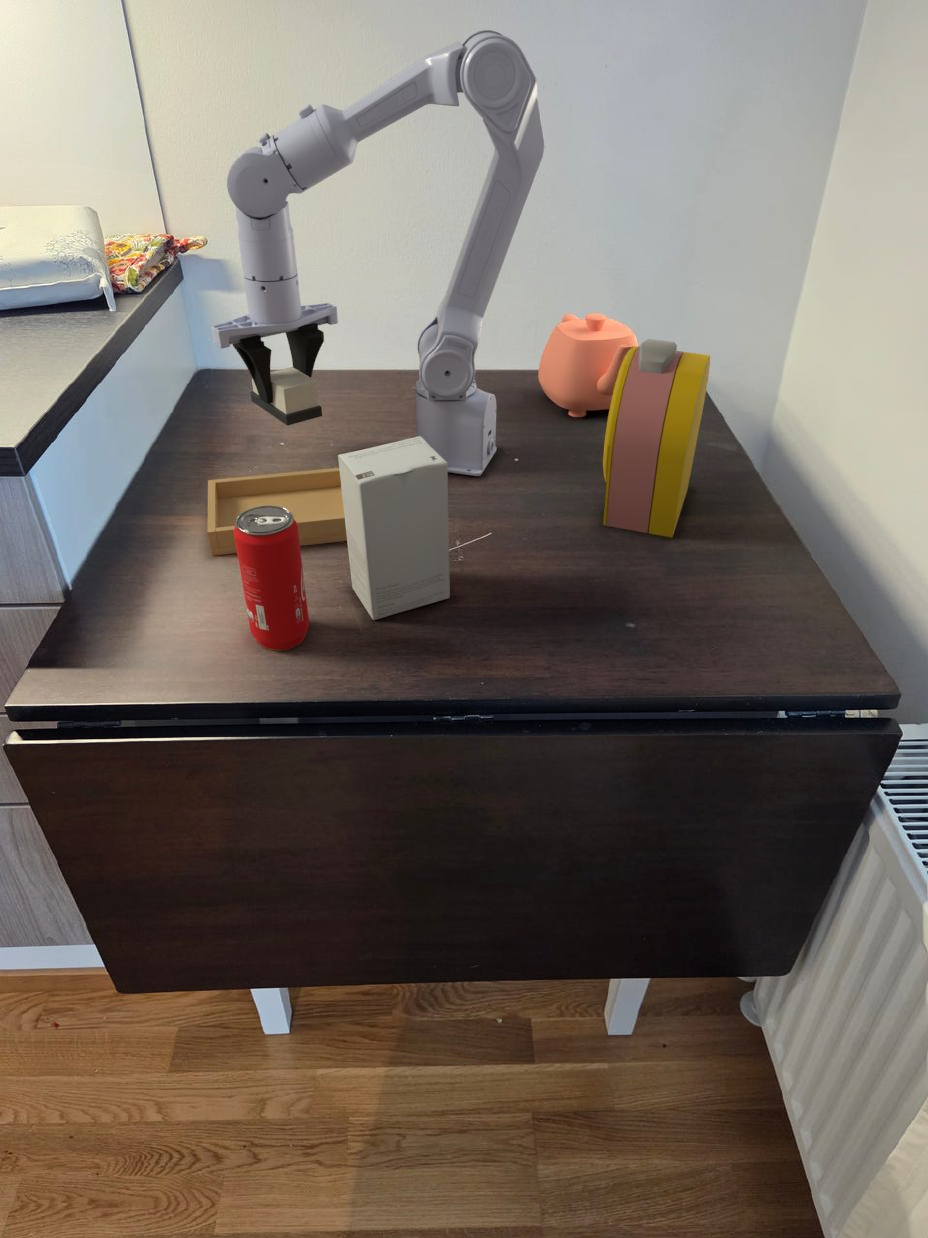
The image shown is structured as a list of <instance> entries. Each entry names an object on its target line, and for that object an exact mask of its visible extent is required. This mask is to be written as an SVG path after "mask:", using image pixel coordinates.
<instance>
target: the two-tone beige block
mask: <svg viewBox="0 0 928 1238" xmlns="http://www.w3.org/2000/svg"><path fill="white" fill-rule="evenodd" d="M270 376H271V383H272V390H273V403H269V404H267V403H266V402H264V401H263V400H261V399H260V397H259V394H258V391H257V388H256V385H255V383H254V380H253V378H251V383H252V384H251V385H252V391H250V392H249V393H250V399H251V402H252V403H254V404H255V405H257V406H258V407H259V408H261V409H262V410H263V411H265V412H267V413H269V415H271V416H273V417H274V418H275V419H277V420H278V421H279V422H281V423H282V424H284V425H285V426H292V425H295V424H299V423H302V422H306V421H309V420H313V419H316V418H320V417H323V408H322V406H321V405H319V404H320V403H319V395H318V384H317V380H316V379H314V378H313V377H311V378H310V377H309V376H307V375H305V374H304V373H302V372H300V371H299V370H297V369H295V368H294V367H293V366H291V367H287V368H286V367H285V368H282V369H277V370H273V371H270Z"/></svg>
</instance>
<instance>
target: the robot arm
mask: <svg viewBox="0 0 928 1238" xmlns="http://www.w3.org/2000/svg"><path fill="white" fill-rule="evenodd" d="M529 63H530V62H529V61H528V60H527V57H526V55H525V53H524V52H523V50H522V48H521V47H520V45H518V43H516V42H515V41H514V40H513V39H511V38H510V37H508V36H506V35H503V34H502V33H500V32H498V31H496V30H491V29H483V30H479V31H476V32H474V33H472V34H470V35H469V36H468V37H467V38H466V39H465V40H463V42H462V43H461V42H460V40H459V41H456V42H453V43H450V44H448V45H446V46H443V47H441V48H439V49H437V50H435V51H432V52H430V53H427V54H426V55H424V56H422V57H420V58H419V59H417V60H416V61H415V62H413V63H411V64H409V66H407V67H406V68H404V69H402V70H401V71H399V72H398V73H396V74H395V75H393V76H391V78H389V79H387V80H386V81H384V82H383V83H381V84H380V85H379V86H377V87H375V88H374V89H372V90H371V91H369V92H368V93H366V94H365V95H363V96H362V97H360V98H359V99H357V100H356V101H354V102H353V103H351V104H349V105H348V106H346V107H345V108H344V109H339V108H335V107H334V106H333V107H332V106H330V105H327V104H324V103H323V104H320V105H319V106H317V107H315V108H314V107H313V106H312V105H311V104H307V105H306V106H303V107H302V108H300V110H299V111H298V116H299V117H300V118H298V119H295V121H293V122H291V123H290V124H288V125H287V126H285V127H284V128H282V129H280V130H279V131H277V132H275V133H274V134H272V135H269V132H265V133H264V134H262V135H261V136H259V137H258V139H257V141H258V143H259V145H260V146H252V147H249V148H247V149H245V150H244V151H243V152H242V153H241V154H240V155H239V156H238V157H237V158H236V159H235V160H234V161H233V163H232V164H231V166H230V167H229V169H228V173H227V178H226V187H227V192H228V195H229V198H230V200H231V202H232V203H233V204H234V206H235V218H236V221H237V226H238V228H237V237H238V245H239V252H240V259H241V266H242V275H243V281H244V289H245V295H246V296H245V297H246V302H247V303H246V304H247V310H248V311H247V312H248V314H245V315H242V316H240V317H236V318H234V319H231V320H228V321H225V322H223V323H219V324H215V325H211V326H210V330H211V335H212V342H213V344H214V345H215V346H216V347H218V348H220V349H227V348H230V347H231V345H232V346H233V348H234V349H235V351H236V352H237V353H238V355H239V356H240V358H241V359H242V362H243V363H244V364H245V366H246V368H247V370H248V372H249V374H250V376H251V379H253V380H254V383H255V385H256V388H257V391H258V394H259V397H260V399H261V400H263V401H264V402H266V403H267V404H269V403H273V390H272V383H271V376H270V372H271V359H272V358H271V357H272V349H271V348H269V347H267V346H266V345H265V341H264V340H262V338H266V337H271V336H276V335H281V334H285V336H286V339H287V343H288V346H289V347H288V348H289V352H290V356H291V361H292V367H294V368H295V369H297V370H299V371H300V372H302V373H304V374H305V375H307V376H309V377H310V378H313V372H314V367H315V363H316V360H317V357H318V355H319V352H320V350H321V347H322V346H323V344H324V343H325V333H324V331H323V330H321V329H319V326H323V325H330V326H332V325H335V324H336V325H337V324H338V323H339V319H338V306H336V305H334V304H332V303H331V302H330V303H329V302H324V303H318V304H307V305H301V295H300V284H299V275H298V274H299V273H298V267H297V257H296V256H297V255H296V247H295V246H296V245H295V237H294V229H293V226H292V224H291V214H290V206H289V201H287V199H288V196H289V195H291V194H297V195H299V194H303V193H305V192H306V191H307V190H310V189H311V188H313V187H314V186H316V185H318V184H319V183H321V182H323V181H325V180H326V179H328V178H330V177H331V176H333V175H334V174H336V173H338V172H340V171H341V170H343V169H345V168H347V167H348V166H350V165H351V164H353V163H354V160H355V157H356V151H357V148H358V144H359V142H361V141H364V140H365V139H367V138H369V137H370V136H373V135H374V134H376V133H377V132H380V131H381V130H383V129H386V128H387V127H388V126H390V125H392V124H394V123H396V122H398V121H400V120H401V119H403V118H405V117H408V115H410V114H412V113H415V112H416V111H418V110H419V109H421V108H423V107H424V106H428V105H439V106H448V107H460V99H459V94H460V93H462V94H463V95H464V97H465V99H466V100H467V101H468V103H469V104H470V105H471V106H472V107H473V109H474V110H475V111H476V113H477V114H478V115H479V116H480V118H482V122H483V125H484V126H485V129H486V131H487V133H488V136H489V138H490V140H491V143H492V146H493V148H494V149H493V154H492V158H491V160H490V163H489V167H488V169H487V172H486V175H485V179H484V181H483V184H482V186H481V189H480V192H479V195H478V198H477V201H476V203H475V207H474V210H473V213H472V216H471V218H470V221H469V224H468V227H467V230H466V233H465V236H464V238H463V241H462V245H461V247H460V251H459V252H458V253H459V254H458V256H457V259H456V262H455V265H454V268H453V271H452V274H451V277H450V280H449V282H448V285H447V289H446V291H445V294H444V297H443V298H442V299H441V301H440V303H439V305H438V306H437V309H436V312H435V314H434V317H433V318H432V320H431V321H430V323H428V324H427V325H426V326H425V327H424V328H423V329H422V331H420V334H419V336H418V340H417V353H418V357H419V367H418V376H419V378H418V379H417V380H416V381H415V384H414V389H415V390H414V391H415V392H414V395H415V397H414V399H415V427H416V428H415V430H416V431H415V432H416V433H415V434H416V436H415V437H418V436H421V437H422V438H423V439H424V440H425V441H426V442H427V443H428V444H429V445H430V446H431V447H432V448H433V449H434V450H435V451H436V452H437V453H438V454H439V455H440V456H441V457H442V458H443V459H444V460H445V461H446V462H447V463H448V468H447V473H452V474H459V475H465V476H473V477H480V476H481V475H482V474H483V472H484V471H485V469H486V467H487V466H488V464H489V463H490V462H491V460H492V458H493V457H494V455H495V454H496V452H497V448H498V447H497V446H496V439H497V437H496V436H497V435H496V434H497V398H496V395H495V394H494V393H490V392H487V391H484V390H482V389H480V388H478V387H477V381H476V380H475V378H476V364H475V357H476V352H477V349H478V348H479V347H478V346H479V343H480V338H481V333H482V326H483V319H484V317H485V314H486V311H487V308H488V306H489V303H490V300H491V298H492V295H493V293H494V290H495V288H496V285H497V282H498V279H499V277H500V275H501V271H502V268H503V265H504V263H505V261H506V258H507V256H508V252H509V250H510V248H511V244H512V242H513V238H514V236H515V234H516V231H517V228H518V225H519V222H520V220H521V217H522V216H523V215H522V214H523V213H524V210H525V206H526V204H527V201H528V199H529V196H530V193H531V190H532V188H533V185H534V183H535V180H536V177H537V174H538V173H539V169H540V167H541V164H542V161H543V158H544V156H545V150H546V141H545V134H544V129H543V128H544V127H543V121H542V116H541V109H540V102H539V97H538V95H539V94H538V81H537V77H536V75H535V73H534V71H533V69H532V67H531V65H530V64H529ZM458 93H459V94H458Z"/></svg>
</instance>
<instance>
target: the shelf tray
mask: <svg viewBox="0 0 928 1238" xmlns="http://www.w3.org/2000/svg"><path fill="white" fill-rule="evenodd" d="M259 506H279V507H283V508H286V509H287V510H289V511H290V512H291V513H292V514H293V517H294V520H295V521H296V523H297V525H298V533H299V542H300V547H303V546H311V545H312V546H313V545H323V544H332V543H339V542H347V534H346V525H345V516H344V506H343V499H342V490H341V479H340V470H339V467H333V468H332V467H331V468H321V469H312V470H301V471H291V472H281V473H279V472H278V473H269V474H259V475H258V474H257V475H249V476H239V477H238V476H237V477H227V478H217V479H216V478H215V479H208V480H207V537H208V543H209V549H210V552H211V557H213V556H214V557H215V556H221V555H230V554H231V555H232V554H237V549H236V543H235V537H234V528H235V526H236V525H235V521H236V518H237V517H238V516H239V515H240V514H241V513H242V512H244V511H246V510H248V509H251V508H254V507H259Z"/></svg>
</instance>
